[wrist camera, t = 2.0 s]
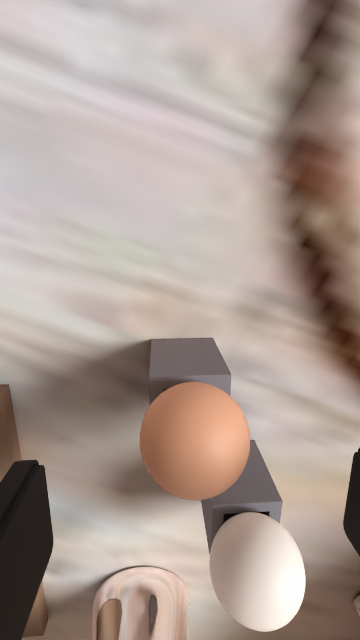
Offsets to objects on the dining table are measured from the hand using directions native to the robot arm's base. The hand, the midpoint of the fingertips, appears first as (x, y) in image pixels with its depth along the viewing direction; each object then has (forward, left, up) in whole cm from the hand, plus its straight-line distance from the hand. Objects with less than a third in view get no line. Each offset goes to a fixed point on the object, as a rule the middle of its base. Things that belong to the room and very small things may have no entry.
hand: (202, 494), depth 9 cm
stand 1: (-1, 0, -7) cm, 7 cm away
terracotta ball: (-1, 0, -3) cm, 3 cm away
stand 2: (+5, +2, -7) cm, 9 cm away
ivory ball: (+5, +2, -3) cm, 6 cm away
